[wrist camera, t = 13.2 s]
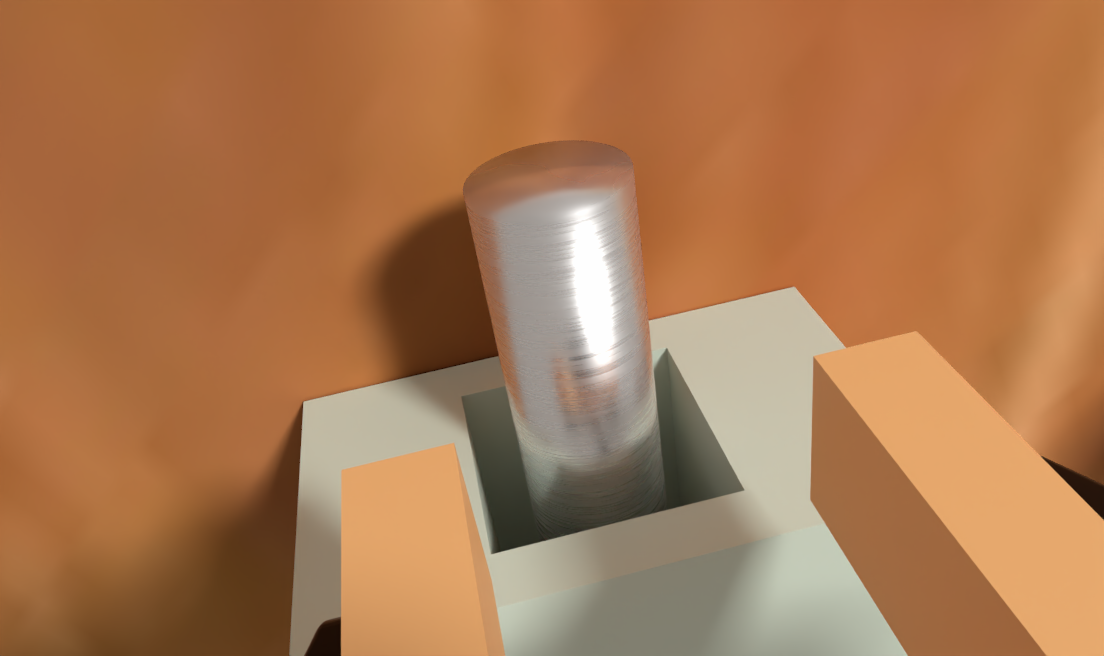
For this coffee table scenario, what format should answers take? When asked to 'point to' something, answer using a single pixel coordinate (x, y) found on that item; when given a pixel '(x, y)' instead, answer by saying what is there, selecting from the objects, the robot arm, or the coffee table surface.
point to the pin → (571, 329)
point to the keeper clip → (839, 497)
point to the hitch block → (640, 543)
